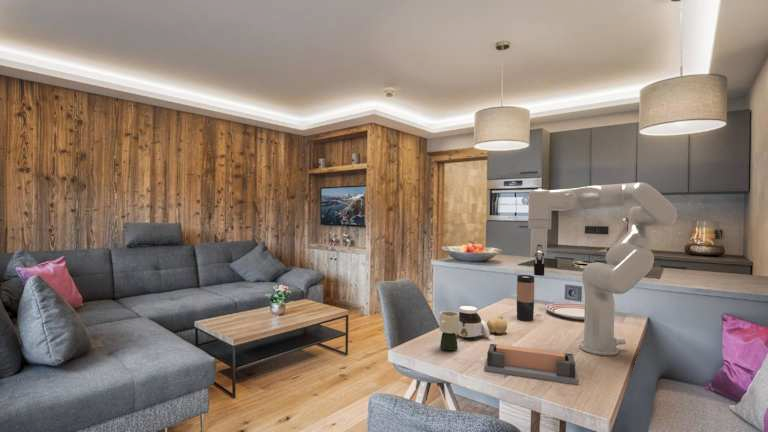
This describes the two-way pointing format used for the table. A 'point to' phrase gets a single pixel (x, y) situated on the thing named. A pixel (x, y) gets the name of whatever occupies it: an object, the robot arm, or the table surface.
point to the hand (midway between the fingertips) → (538, 273)
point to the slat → (530, 357)
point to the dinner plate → (568, 310)
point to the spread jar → (471, 324)
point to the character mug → (449, 329)
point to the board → (532, 373)
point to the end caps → (562, 367)
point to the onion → (497, 325)
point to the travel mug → (525, 297)
